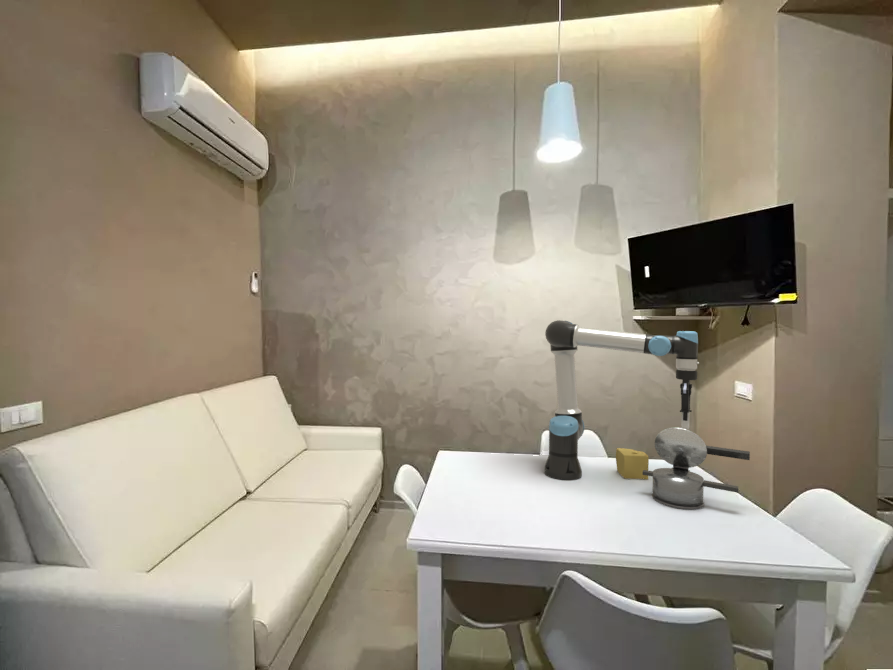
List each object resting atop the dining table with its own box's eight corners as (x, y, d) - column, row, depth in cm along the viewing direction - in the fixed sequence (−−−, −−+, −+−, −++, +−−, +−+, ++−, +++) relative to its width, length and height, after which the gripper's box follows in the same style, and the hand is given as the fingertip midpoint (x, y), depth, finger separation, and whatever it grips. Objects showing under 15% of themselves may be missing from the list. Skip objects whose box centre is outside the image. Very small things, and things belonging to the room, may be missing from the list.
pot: (638, 500, 155) (638, 475, 155) (647, 485, 169) (647, 462, 169) (737, 521, 138) (738, 493, 138) (738, 503, 153) (738, 478, 152)
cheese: (640, 471, 186) (640, 448, 186) (649, 480, 176) (650, 455, 175) (615, 470, 187) (615, 447, 187) (622, 479, 177) (623, 454, 176)
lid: (653, 425, 161) (654, 422, 163) (655, 465, 167) (656, 461, 169) (750, 437, 144) (750, 433, 146) (749, 481, 150) (749, 477, 152)
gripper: (696, 371, 166) (694, 432, 166) (698, 369, 177) (697, 426, 177) (674, 370, 170) (672, 430, 171) (677, 367, 181) (676, 424, 181)
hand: (685, 428), depth 174 cm, fingers closed
